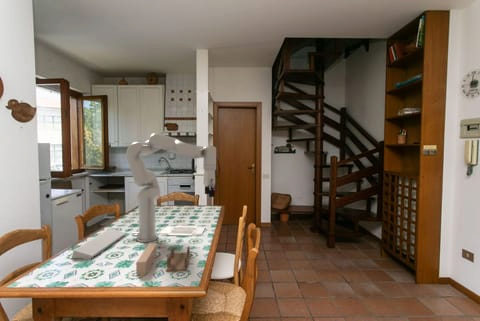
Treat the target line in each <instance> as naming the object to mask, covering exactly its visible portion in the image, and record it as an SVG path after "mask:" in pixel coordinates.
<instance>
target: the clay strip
mask: <svg viewBox="0 0 480 321" xmlns="http://www.w3.org/2000/svg"><path fill="white" fill-rule="evenodd" d="M148 243H149V244H148V245H147V246H146V247H145V249H144V250H143V252H142V253H141V255H140V256H139V257H138V259H137V261H136V262H135V266H136V268H135V269H136V271H135V272H136V276H143V275H145V276H146V275H147V273H148V272H149V270H150V267H151V266H152V264H153V262H154V260H155V259H154V258H156V257H155V256H157V255H158V243H157V242H156V243H154V242H153V243H150V242H148Z"/></svg>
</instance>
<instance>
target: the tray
mask: <svg viewBox="0 0 480 321" xmlns="http://www.w3.org/2000/svg"><path fill="white" fill-rule="evenodd" d="M205 229H206V227H203V226H202V227H201V226H199V227H198V225H189V224H188V223H185V222H179V224H178V225H175V226H165V228H163V230H161V231H160V232H159V234H160V235H167V236H187V237H189V236H191V237H192V236H193V235H202V234H203V232H204V231H205Z"/></svg>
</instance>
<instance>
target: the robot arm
mask: <svg viewBox="0 0 480 321" xmlns="http://www.w3.org/2000/svg"><path fill="white" fill-rule="evenodd" d="M160 150H164V151H168V152H171V153H173V154H177V155H180V156H182V157H186V158H188V159H193V160H197V159H203V166H202V168H203V185H204V194H205V195H208V197H209V198H214V197H216V196H215V195H216V194H215V191H216V189H215V185H216V170H217V148H216V146H201V145H193V144H190V143H188V142H184V141H181V140H180V139H178V138H176V137H173V136H168V135H166V134H163V133H158V132H156V133H155V132H154V133H152V134H151V135H150V137H149V138H148V140H147V141H135V142H133V143H131V144H130V145H129V146H128V148H127V149H126V154H125V156H126V160H127V162H128V166H129V168H130V172H131V175H132V177H133V178H132V179H133V181H134V182H133V183H134V184H135V185H136V186H137V187H143V188H142V189H140V190H139V192H137V198H136V199H137V204H138V231H132V233H131V236H133V237H136V241H137V242H138V243H139V242H140V243H150V242H153V241H156V240H158V239H159V235H158V234H157V233H156V232H157V231H156V228H157V227H156V205H155V201H157V200H158V199H159V198H160V196H161V188H160V186H159V183H158V180H157V176H156V174H155V173H154V172H153V171H152V170H150V169H147V167H146V165H145V162H144V159H143V158H142V156H149V155H152V154H154V153H156V152H157V151H160Z"/></svg>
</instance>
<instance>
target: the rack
mask: <svg viewBox="0 0 480 321" xmlns="http://www.w3.org/2000/svg"><path fill="white" fill-rule="evenodd" d="M190 250H191V248H190V246H187V249H186V252H175V247H174V246H171V249H170V254H168V255H167V258H166V269H165V271H166V272H186V271H187V269H188V265H189V261H190V258H191V257H190V256H191V251H190Z"/></svg>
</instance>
